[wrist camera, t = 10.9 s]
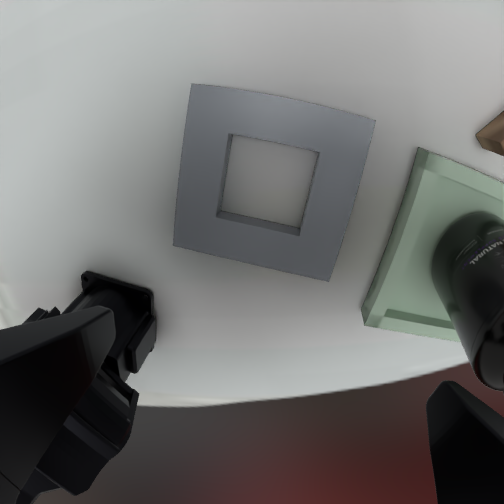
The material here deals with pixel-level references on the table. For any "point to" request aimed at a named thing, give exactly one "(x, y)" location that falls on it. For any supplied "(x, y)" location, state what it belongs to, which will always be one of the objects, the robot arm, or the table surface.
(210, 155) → the hole plate
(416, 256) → the tray
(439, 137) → the table surface
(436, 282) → the supplement bottle
